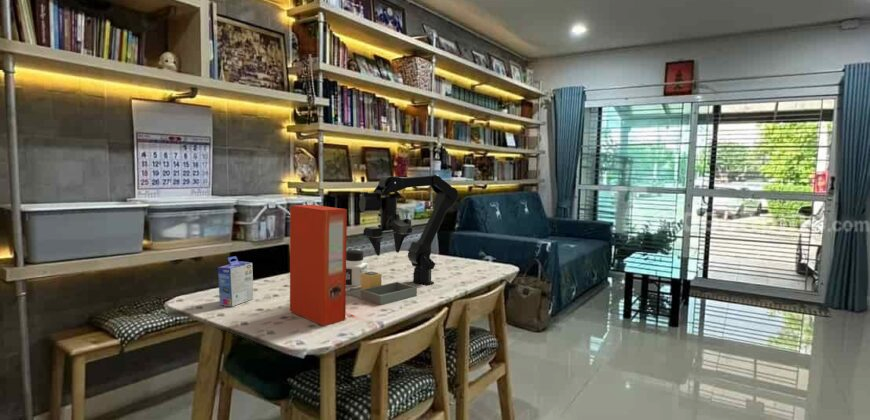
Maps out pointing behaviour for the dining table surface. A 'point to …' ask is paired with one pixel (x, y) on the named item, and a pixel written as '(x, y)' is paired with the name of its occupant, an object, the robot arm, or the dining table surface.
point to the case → (388, 293)
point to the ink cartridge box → (235, 282)
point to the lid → (354, 291)
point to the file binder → (318, 263)
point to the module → (370, 280)
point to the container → (354, 267)
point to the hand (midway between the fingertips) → (388, 253)
